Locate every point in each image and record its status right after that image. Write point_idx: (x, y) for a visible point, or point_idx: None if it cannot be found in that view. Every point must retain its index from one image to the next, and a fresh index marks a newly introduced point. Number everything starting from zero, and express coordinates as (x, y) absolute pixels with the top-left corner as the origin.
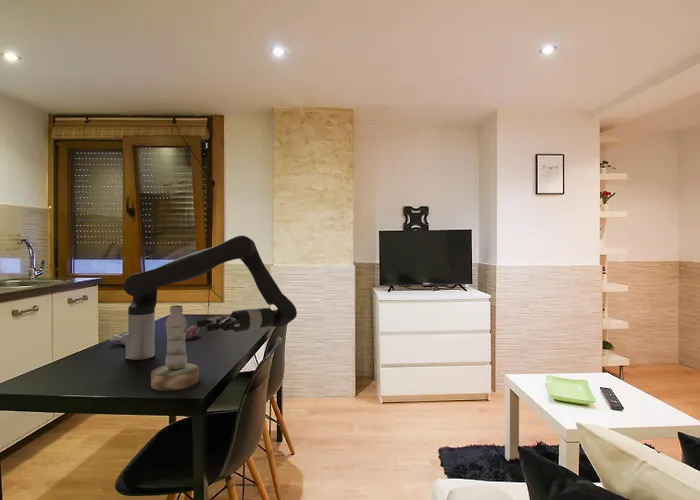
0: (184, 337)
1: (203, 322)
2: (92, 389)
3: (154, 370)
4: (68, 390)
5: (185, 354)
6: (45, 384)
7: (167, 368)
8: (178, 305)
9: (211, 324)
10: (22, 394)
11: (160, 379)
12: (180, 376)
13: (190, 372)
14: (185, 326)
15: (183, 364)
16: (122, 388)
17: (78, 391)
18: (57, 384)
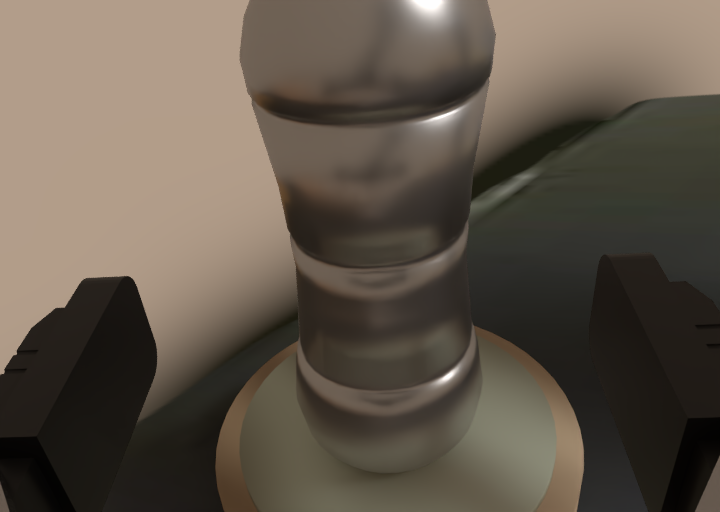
0: (303, 235)
1: (632, 369)
2: (549, 221)
3: (483, 337)
4: (586, 178)
5: (319, 383)
6: (715, 142)
7: None
8: None
9: (59, 324)
10: (614, 117)
11: None
12: (224, 422)
13: (242, 494)
14: (276, 120)
15: (307, 423)
16: (486, 289)
17: (551, 195)
18: (696, 160)
